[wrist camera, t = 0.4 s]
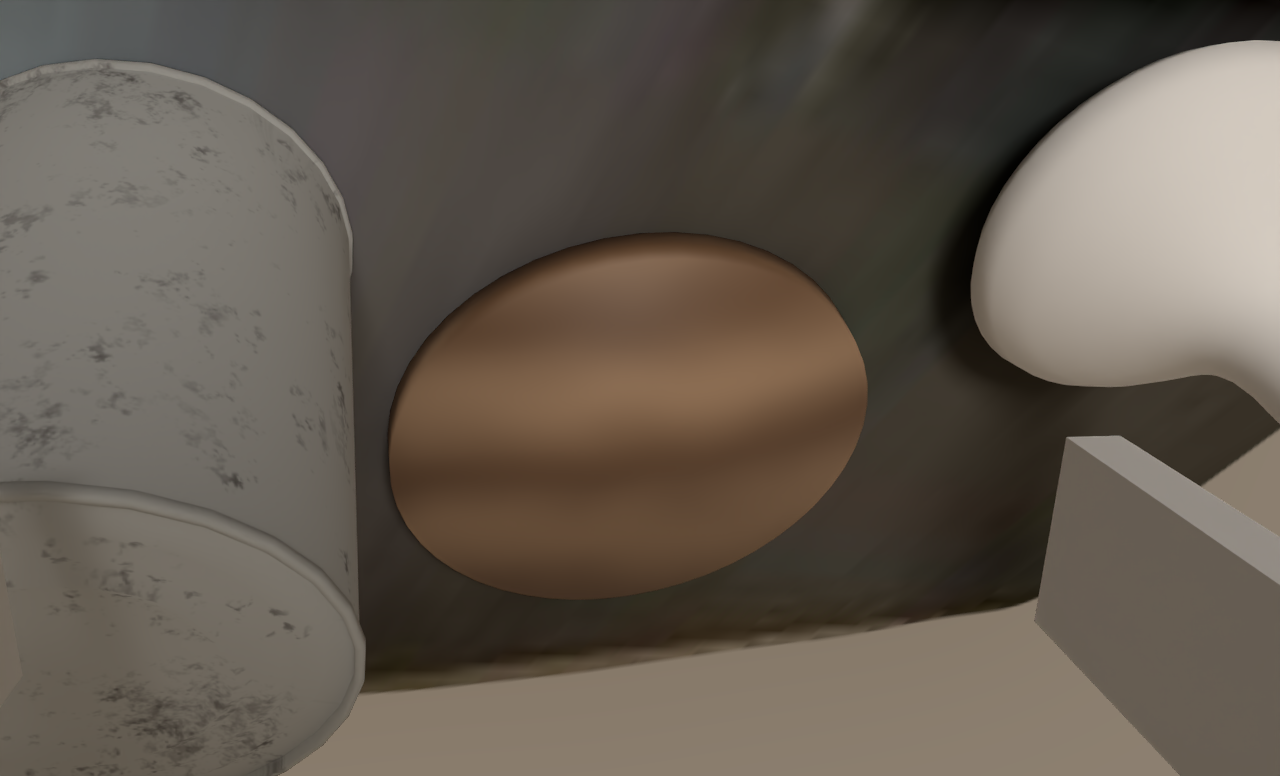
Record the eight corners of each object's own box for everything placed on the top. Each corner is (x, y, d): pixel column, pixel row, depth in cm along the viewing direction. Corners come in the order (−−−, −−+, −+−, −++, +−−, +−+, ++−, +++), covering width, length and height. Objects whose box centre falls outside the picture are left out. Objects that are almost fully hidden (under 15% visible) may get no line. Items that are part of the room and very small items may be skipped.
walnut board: (324, 294, 28) (324, 323, 27) (870, 185, 29) (886, 210, 28) (446, 609, 38) (449, 638, 37) (841, 519, 40) (853, 544, 39)
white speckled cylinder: (-2, 401, 28) (-149, 867, 19) (-160, 62, 21) (-490, 538, 13) (370, 371, 30) (388, 781, 21) (329, 53, 23) (332, 458, 15)
